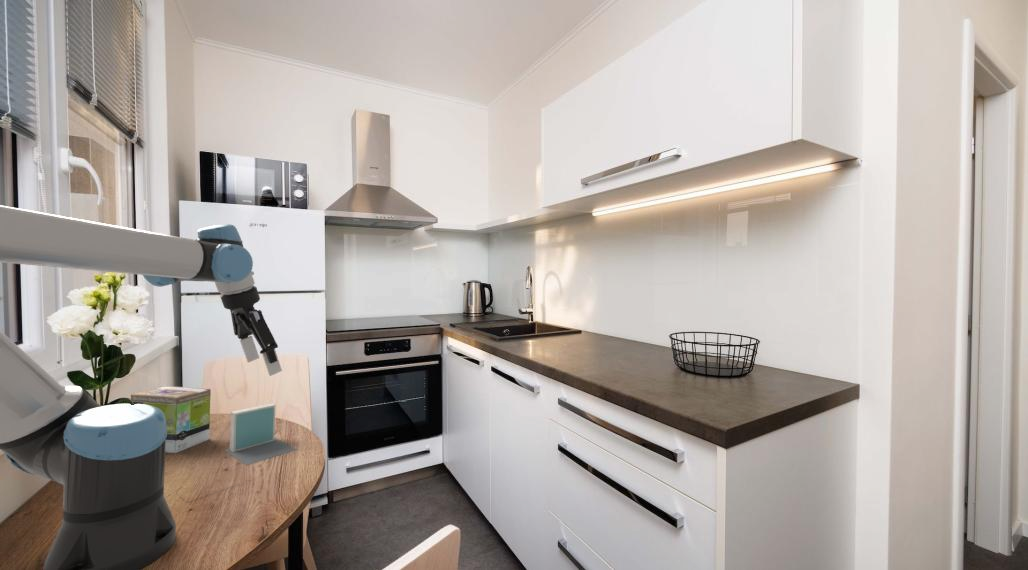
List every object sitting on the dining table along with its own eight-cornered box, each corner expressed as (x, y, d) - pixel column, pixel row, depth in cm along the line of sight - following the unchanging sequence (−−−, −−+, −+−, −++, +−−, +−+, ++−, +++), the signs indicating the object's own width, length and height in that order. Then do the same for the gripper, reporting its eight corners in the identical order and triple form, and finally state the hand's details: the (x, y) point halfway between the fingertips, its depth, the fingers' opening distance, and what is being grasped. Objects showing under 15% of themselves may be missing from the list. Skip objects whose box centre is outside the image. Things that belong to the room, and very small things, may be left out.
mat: (246, 467, 96) (246, 465, 96) (223, 451, 104) (223, 450, 104) (297, 451, 106) (297, 449, 106) (272, 438, 114) (272, 436, 114)
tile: (233, 452, 103) (234, 413, 103) (229, 449, 105) (230, 411, 105) (274, 440, 111) (275, 405, 111) (270, 438, 113) (271, 403, 113)
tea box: (210, 440, 112) (212, 388, 112) (174, 455, 102) (176, 397, 102) (166, 435, 114) (168, 384, 114) (126, 449, 104) (128, 393, 104)
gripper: (276, 291, 91) (301, 371, 98) (235, 278, 106) (259, 349, 113) (240, 302, 86) (269, 386, 92) (202, 287, 100) (229, 361, 107)
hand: (264, 366), depth 103 cm, fingers open, 13 cm apart
